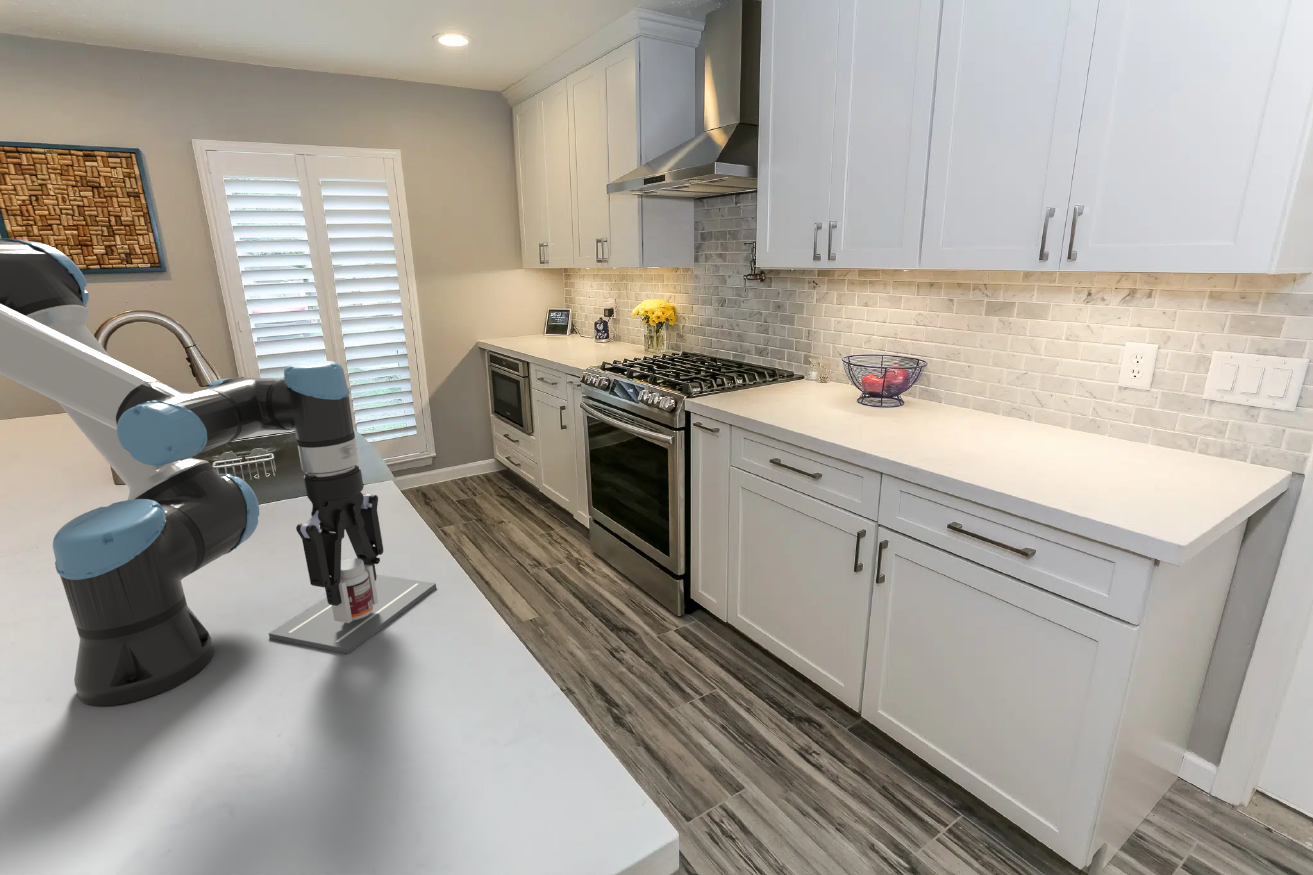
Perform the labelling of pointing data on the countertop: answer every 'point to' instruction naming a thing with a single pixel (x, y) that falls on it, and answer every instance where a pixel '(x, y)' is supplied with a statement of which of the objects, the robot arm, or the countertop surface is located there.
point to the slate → (346, 637)
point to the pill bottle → (357, 587)
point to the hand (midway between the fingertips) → (356, 611)
